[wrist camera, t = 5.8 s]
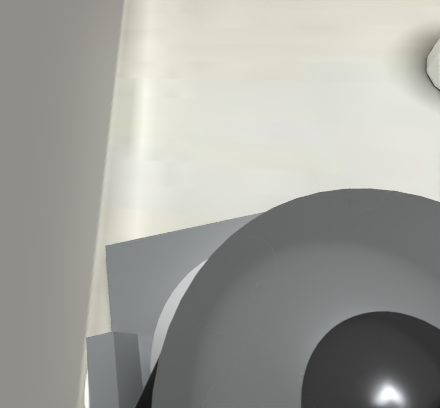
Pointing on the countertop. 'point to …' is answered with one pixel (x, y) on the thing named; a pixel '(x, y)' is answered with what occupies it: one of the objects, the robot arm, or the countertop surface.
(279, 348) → the metal canister
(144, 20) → the countertop surface
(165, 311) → the scale
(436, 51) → the white cup
